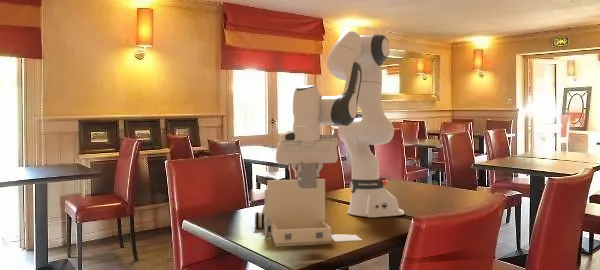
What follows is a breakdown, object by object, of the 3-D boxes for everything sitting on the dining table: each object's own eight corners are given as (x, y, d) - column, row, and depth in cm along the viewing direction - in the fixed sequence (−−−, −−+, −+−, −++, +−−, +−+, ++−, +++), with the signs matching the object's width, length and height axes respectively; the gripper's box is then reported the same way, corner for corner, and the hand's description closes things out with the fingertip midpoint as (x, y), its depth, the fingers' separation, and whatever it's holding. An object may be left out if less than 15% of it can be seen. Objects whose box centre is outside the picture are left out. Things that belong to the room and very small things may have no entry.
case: (324, 233, 161) (324, 179, 161) (335, 244, 146) (334, 184, 145) (264, 235, 158) (263, 180, 157) (268, 247, 142) (267, 186, 142)
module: (312, 185, 154) (312, 160, 154) (316, 188, 147) (316, 161, 147) (298, 185, 153) (297, 160, 153) (301, 188, 146) (301, 162, 146)
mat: (354, 234, 158) (354, 233, 158) (362, 241, 149) (362, 239, 149) (328, 235, 157) (328, 234, 157) (335, 242, 148) (335, 241, 148)
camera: (256, 224, 177) (256, 198, 176) (278, 224, 177) (278, 198, 177) (254, 234, 161) (254, 205, 161) (279, 233, 161) (278, 205, 161)
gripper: (335, 134, 155) (335, 175, 155) (274, 135, 151) (275, 177, 152) (339, 134, 148) (340, 177, 149) (276, 135, 145) (277, 179, 146)
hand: (307, 177), depth 150 cm, fingers closed on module, 5 cm apart
